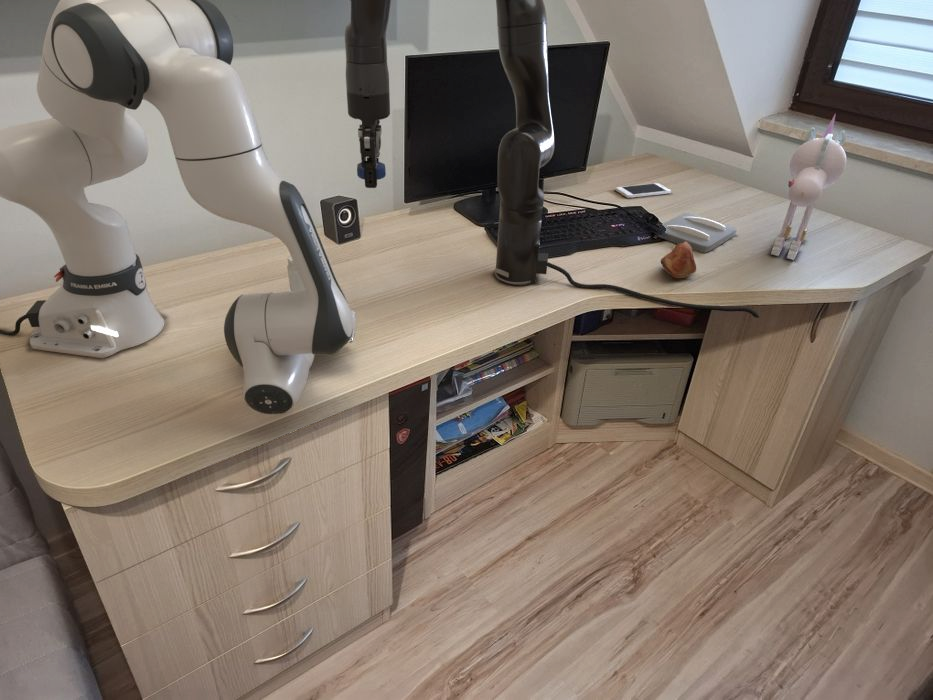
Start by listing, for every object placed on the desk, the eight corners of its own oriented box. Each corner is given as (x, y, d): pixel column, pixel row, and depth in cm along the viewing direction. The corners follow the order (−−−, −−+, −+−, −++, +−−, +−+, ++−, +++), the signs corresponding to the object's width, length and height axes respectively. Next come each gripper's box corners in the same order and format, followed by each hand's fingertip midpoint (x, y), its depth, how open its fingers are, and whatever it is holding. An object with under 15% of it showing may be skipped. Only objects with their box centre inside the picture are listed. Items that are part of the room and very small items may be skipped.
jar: (293, 337, 121) (281, 260, 111) (302, 325, 124) (292, 249, 115) (315, 341, 120) (305, 263, 111) (324, 328, 124) (315, 252, 114)
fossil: (669, 273, 140) (675, 228, 140) (641, 275, 147) (646, 232, 147) (707, 283, 147) (712, 240, 147) (678, 285, 154) (683, 244, 154)
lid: (388, 172, 123) (388, 162, 122) (381, 181, 119) (380, 171, 118) (362, 169, 124) (361, 159, 123) (353, 178, 119) (353, 168, 118)
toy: (826, 222, 178) (867, 110, 161) (806, 269, 152) (852, 142, 135) (779, 212, 183) (814, 103, 167) (751, 256, 157) (789, 132, 141)
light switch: (708, 241, 156) (653, 223, 165) (705, 253, 158) (650, 234, 167) (740, 223, 167) (687, 206, 176) (737, 234, 169) (684, 217, 178)
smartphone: (614, 190, 195) (615, 187, 194) (657, 185, 199) (658, 182, 199) (627, 198, 189) (628, 195, 189) (671, 193, 194) (671, 190, 193)
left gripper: (351, 328, 106) (360, 289, 118) (227, 326, 106) (249, 287, 117) (353, 359, 110) (362, 318, 121) (233, 358, 109) (254, 316, 121)
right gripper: (350, 79, 118) (356, 169, 128) (341, 97, 106) (348, 195, 116) (391, 80, 119) (393, 170, 128) (386, 98, 107) (390, 196, 116)
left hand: (306, 303), depth 119 cm, fingers closed on jar, 4 cm apart
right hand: (372, 181), depth 122 cm, fingers closed on lid, 5 cm apart
